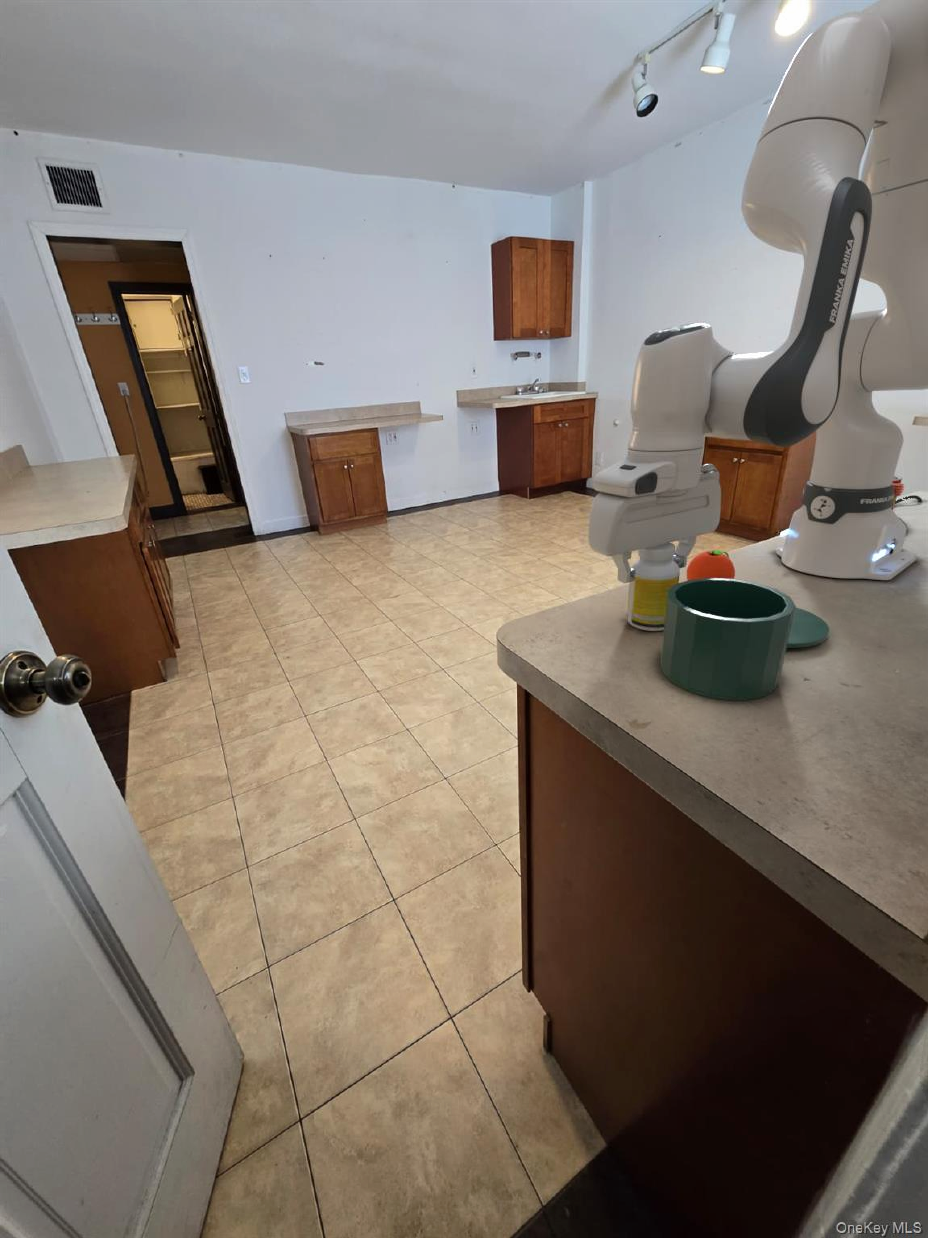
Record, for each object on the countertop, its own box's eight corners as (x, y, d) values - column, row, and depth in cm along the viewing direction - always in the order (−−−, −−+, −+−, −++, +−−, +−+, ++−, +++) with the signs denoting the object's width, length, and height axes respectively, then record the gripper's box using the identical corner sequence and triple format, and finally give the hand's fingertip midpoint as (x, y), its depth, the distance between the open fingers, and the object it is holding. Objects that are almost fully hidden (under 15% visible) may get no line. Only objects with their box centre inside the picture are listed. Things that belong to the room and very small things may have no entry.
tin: (709, 637, 69) (719, 571, 65) (802, 679, 58) (821, 602, 54) (638, 663, 64) (644, 592, 60) (725, 713, 54) (740, 632, 50)
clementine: (705, 581, 87) (711, 540, 84) (744, 592, 82) (752, 549, 79) (674, 593, 83) (679, 550, 80) (713, 605, 78) (720, 561, 75)
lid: (755, 601, 78) (761, 572, 76) (850, 634, 67) (859, 601, 65) (691, 622, 73) (695, 592, 71) (782, 662, 62) (790, 627, 60)
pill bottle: (677, 633, 70) (687, 552, 66) (628, 632, 72) (634, 552, 67) (670, 614, 76) (678, 538, 71) (624, 613, 77) (630, 538, 73)
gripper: (700, 459, 71) (688, 554, 77) (582, 478, 64) (579, 582, 69) (740, 464, 66) (724, 565, 72) (618, 484, 58) (611, 597, 64)
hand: (652, 574), depth 71 cm, fingers open, 8 cm apart
